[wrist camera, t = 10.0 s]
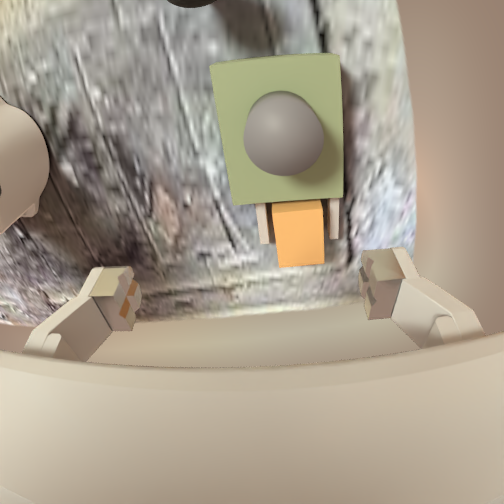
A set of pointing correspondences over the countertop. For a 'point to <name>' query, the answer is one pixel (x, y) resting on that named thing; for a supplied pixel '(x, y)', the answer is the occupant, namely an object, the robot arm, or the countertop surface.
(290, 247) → the tall orange cuboid
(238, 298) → the countertop surface
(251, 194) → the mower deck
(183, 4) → the light bulb
